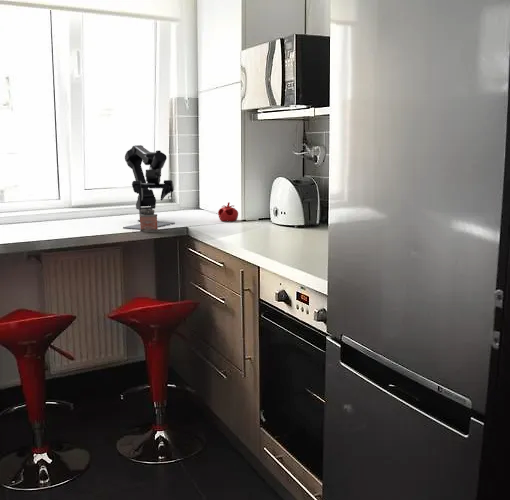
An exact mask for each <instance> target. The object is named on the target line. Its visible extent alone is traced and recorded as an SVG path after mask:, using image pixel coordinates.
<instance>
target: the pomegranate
mask: <svg viewBox="0 0 510 500" xmlns="http://www.w3.org/2000/svg"><path fill="white" fill-rule="evenodd" d="M230 204H231V203H230V202H227V204H226V205H222V206H221V208H219V209H218V211H217V213H218V218H219V220H220V221H221V222H229V221H230V222H235V221H237V219H238V217H239V212H238V210H237V209H236V208H235V205H231V206H230Z"/></svg>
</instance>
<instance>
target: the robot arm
mask: <svg viewBox="0 0 510 500" xmlns="http://www.w3.org/2000/svg"><path fill="white" fill-rule="evenodd" d="M167 158H168V157H167V155H166V154H165V153H164V152H162V151H161V150H156V151H155V152H154V151H153V152H152V151H149V150H148V149H146V148H145V147H144V145H141V144H140V145H135V144H134V145H133V146H131V148H130V149H128V150H127V151H126V152H125V155H124V160H125V162H126V165H127V166H128V167H129V168H130V169H131V170H132V174H133V175H134V180H133V181H132V183H131V186H132V187H131V188H132V190H133V192H134V193H136V195H137V194H138V196H137V200H136V204H135V208H136V209H135V210H139V212H138V214H139V216H140V215H141V214H144V212H141V209H146V210H148V209H151V210H155V209H156V205H157V199H156V197H155V194H154V191H153V189H156V190H157V189H158V190H159V189H161V194H160V201H163V200H164V199H165V197H166V196H167V195H169V194H170V193H173V192H174V190H175V189H174V188H175V187H174V186H175V185H174V182H173V180H171V179H167V180H166V179H164V180H163V183H161V177H162V168H164V166H165V163H166V161H167ZM142 163H143V164H144V165H145V166H149V167H148V168H149V169H145V174H144V170H143V168H142ZM145 213H147V212H145ZM137 222H140V219H137Z"/></svg>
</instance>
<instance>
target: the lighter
mask: <svg viewBox="0 0 510 500" xmlns="http://www.w3.org/2000/svg"><path fill="white" fill-rule="evenodd" d="M141 212H144V214H141V215H139V220H140V221H139V222H140V223H139V224H140V226H141V229H140V232H145V233H146V232H147V233H149V232H158V231H159V229H158V228H159V227H157V221H158V214H157V213H155V209H153V210H151V209H148V210H146V209H141ZM145 212H147V213H145Z"/></svg>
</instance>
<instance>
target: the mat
mask: <svg viewBox="0 0 510 500" xmlns="http://www.w3.org/2000/svg"><path fill="white" fill-rule="evenodd" d="M170 224H172V225H175V224H176V223H175V222H170V221H159V220H157V227H158V228H160V226H162V227H165V225H167V226H171V225H170ZM122 229H124V230H125V229H127V230H136V231H139V230H140V229H141V226H140V223H138V224H132V225H128V226H127V225H126V226H123V227H122Z"/></svg>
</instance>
